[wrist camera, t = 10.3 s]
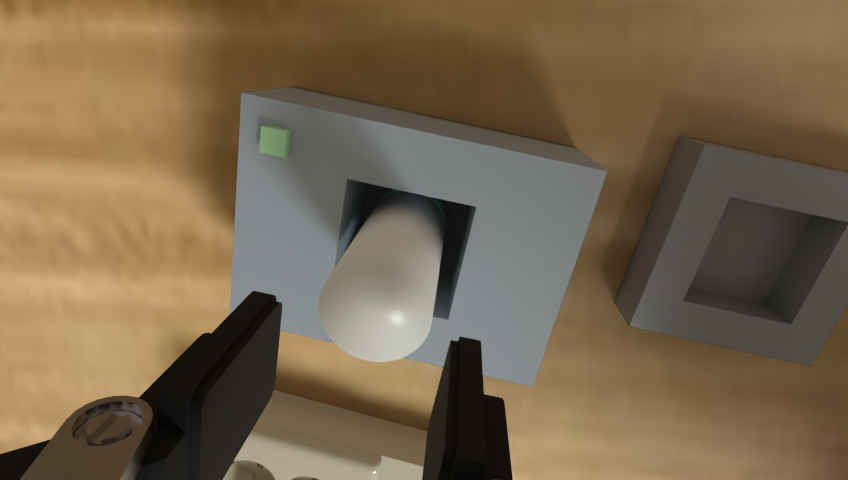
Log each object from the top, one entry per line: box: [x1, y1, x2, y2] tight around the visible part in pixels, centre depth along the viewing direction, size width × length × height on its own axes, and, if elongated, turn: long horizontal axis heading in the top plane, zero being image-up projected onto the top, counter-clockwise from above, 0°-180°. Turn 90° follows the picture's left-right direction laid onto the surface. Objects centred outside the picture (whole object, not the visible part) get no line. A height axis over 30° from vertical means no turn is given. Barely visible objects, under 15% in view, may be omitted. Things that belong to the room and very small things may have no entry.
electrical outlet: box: [223, 390, 428, 480], centre depth 29 cm, size 7×4×18 cm
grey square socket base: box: [615, 136, 848, 366], centre depth 22 cm, size 9×9×2 cm
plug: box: [318, 188, 447, 362], centre depth 19 cm, size 4×4×10 cm
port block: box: [230, 87, 608, 387], centre depth 22 cm, size 14×10×6 cm
